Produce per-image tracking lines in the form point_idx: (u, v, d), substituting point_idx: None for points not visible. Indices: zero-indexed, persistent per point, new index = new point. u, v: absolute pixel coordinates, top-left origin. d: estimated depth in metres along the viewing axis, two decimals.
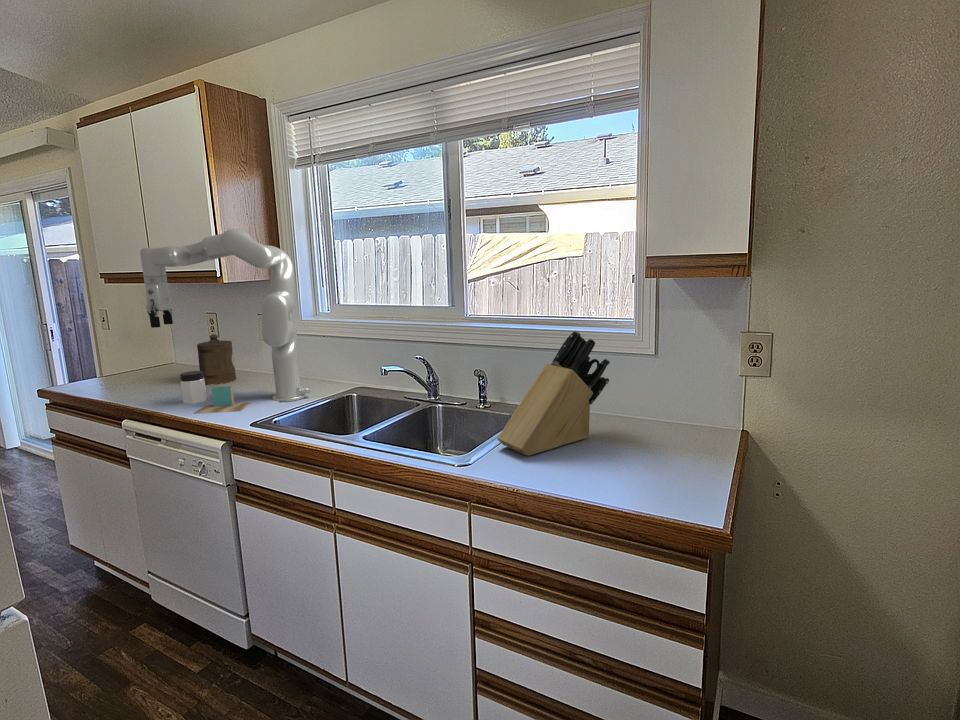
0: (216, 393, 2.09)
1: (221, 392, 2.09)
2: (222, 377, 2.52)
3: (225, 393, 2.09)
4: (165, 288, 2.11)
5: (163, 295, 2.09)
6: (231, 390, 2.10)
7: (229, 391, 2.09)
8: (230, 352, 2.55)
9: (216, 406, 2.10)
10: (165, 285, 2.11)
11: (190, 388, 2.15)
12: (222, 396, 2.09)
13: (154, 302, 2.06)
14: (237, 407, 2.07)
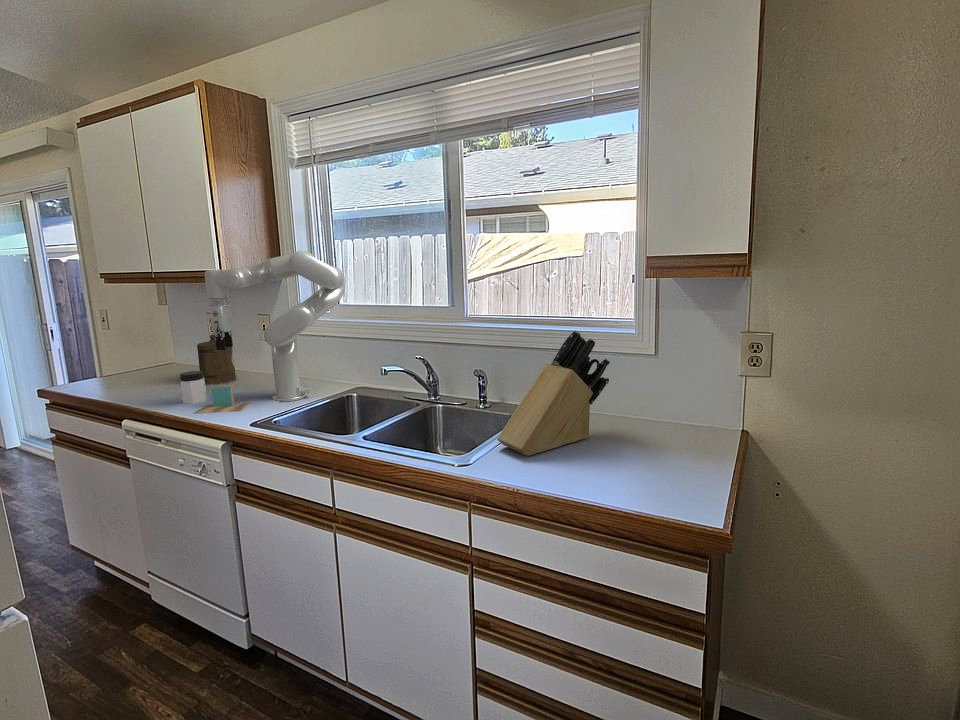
0: (216, 393, 2.09)
1: (221, 392, 2.09)
2: (222, 377, 2.52)
3: (225, 393, 2.09)
4: (228, 309, 2.12)
5: (226, 316, 2.11)
6: (231, 390, 2.10)
7: (229, 391, 2.09)
8: (230, 352, 2.55)
9: (216, 406, 2.10)
10: (228, 306, 2.13)
11: (190, 388, 2.15)
12: (222, 396, 2.09)
13: (219, 326, 2.08)
14: (237, 407, 2.07)
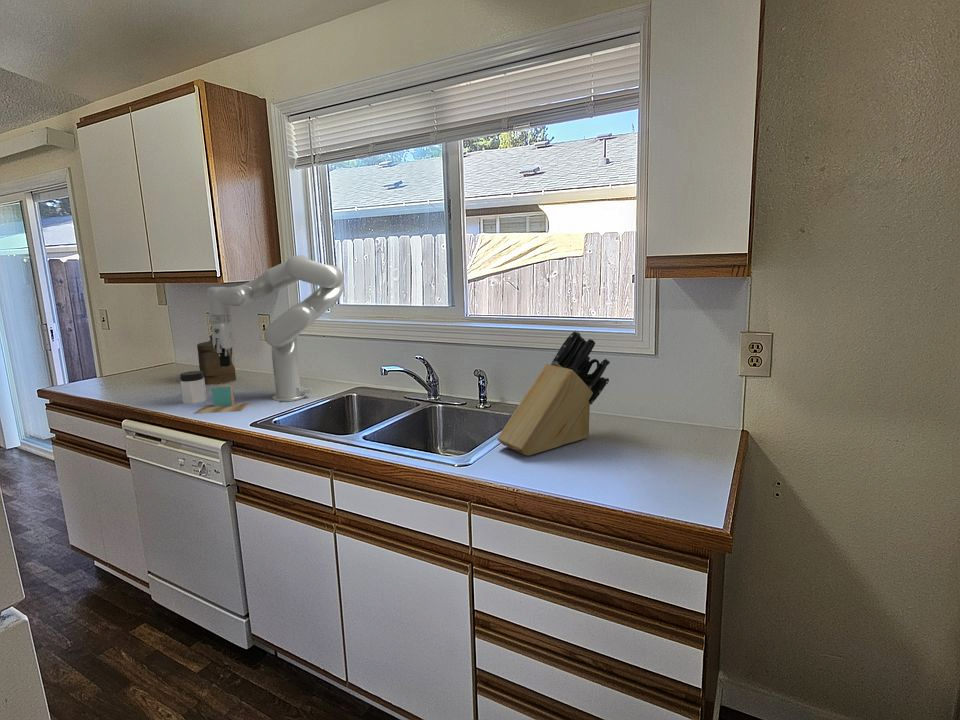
0: (216, 393, 2.09)
1: (221, 392, 2.09)
2: (222, 377, 2.52)
3: (225, 393, 2.09)
4: (229, 326, 2.13)
5: (228, 333, 2.12)
6: (231, 390, 2.10)
7: (229, 391, 2.09)
8: (230, 352, 2.55)
9: (216, 406, 2.10)
10: (229, 323, 2.14)
11: (190, 388, 2.15)
12: (222, 396, 2.09)
13: (221, 347, 2.10)
14: (237, 407, 2.07)
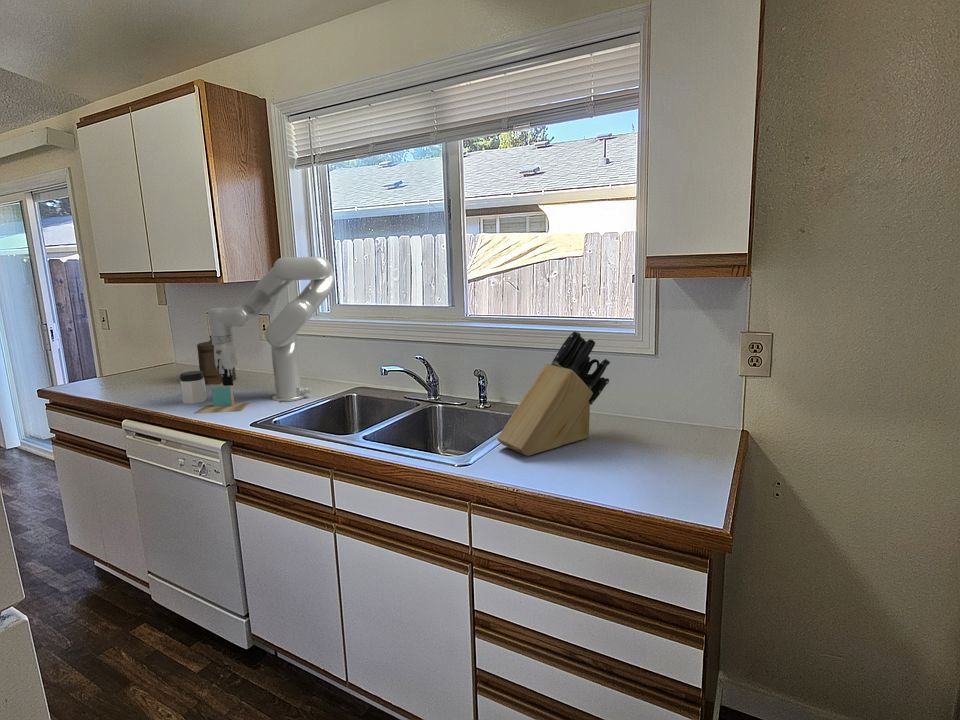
0: (216, 393, 2.09)
1: (221, 392, 2.09)
2: None
3: (225, 393, 2.09)
4: (231, 346, 2.14)
5: (230, 354, 2.12)
6: (231, 390, 2.10)
7: (229, 391, 2.09)
8: None
9: (216, 406, 2.10)
10: (231, 343, 2.14)
11: (190, 388, 2.15)
12: (222, 396, 2.09)
13: (223, 368, 2.10)
14: (237, 407, 2.07)
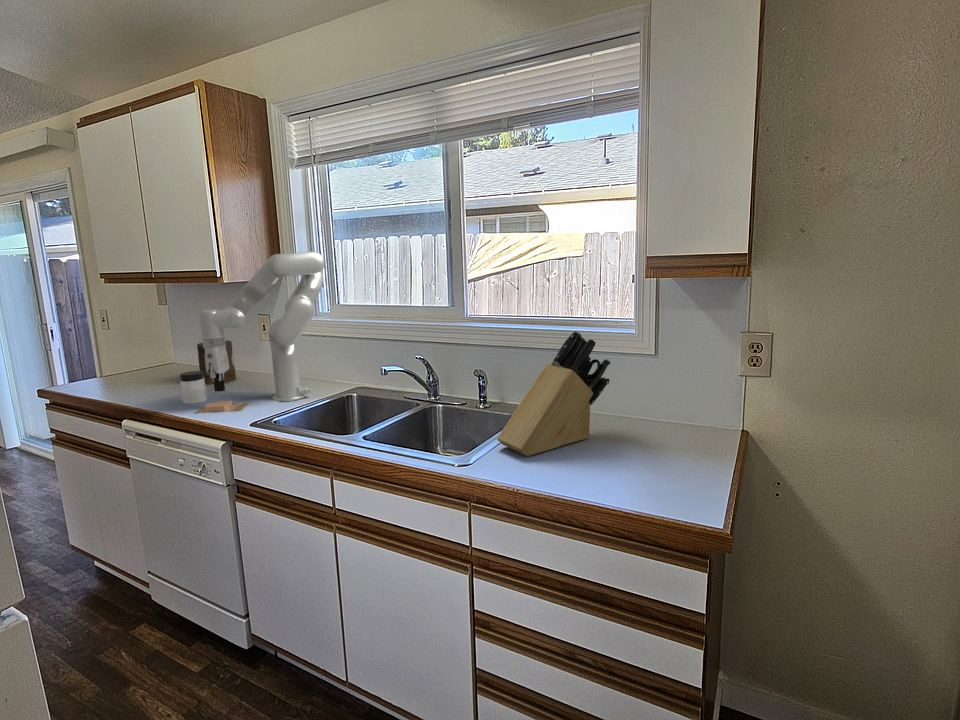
0: None
1: None
2: None
3: None
4: (223, 350, 2.06)
5: (221, 357, 2.04)
6: (226, 407, 2.04)
7: (225, 409, 2.05)
8: (230, 352, 2.55)
9: None
10: (223, 347, 2.07)
11: (190, 388, 2.15)
12: None
13: (215, 372, 2.02)
14: (237, 407, 2.07)
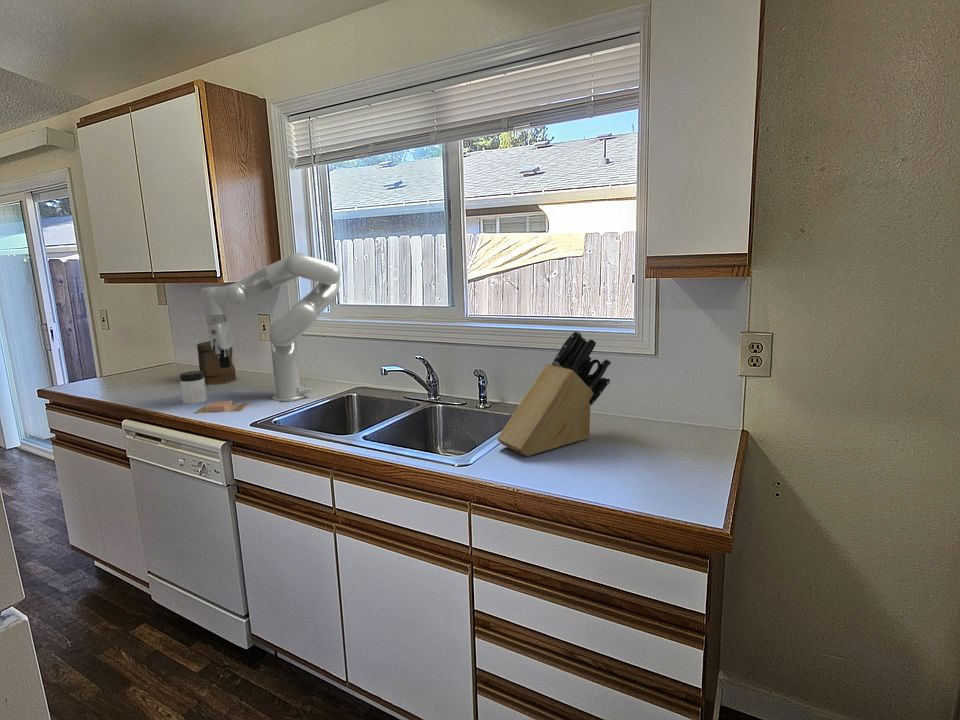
0: None
1: None
2: (222, 377, 2.52)
3: None
4: (226, 326, 2.09)
5: (225, 334, 2.08)
6: (226, 407, 2.04)
7: (225, 409, 2.05)
8: (230, 352, 2.55)
9: None
10: (226, 323, 2.10)
11: (190, 388, 2.15)
12: None
13: (219, 348, 2.06)
14: (237, 407, 2.07)
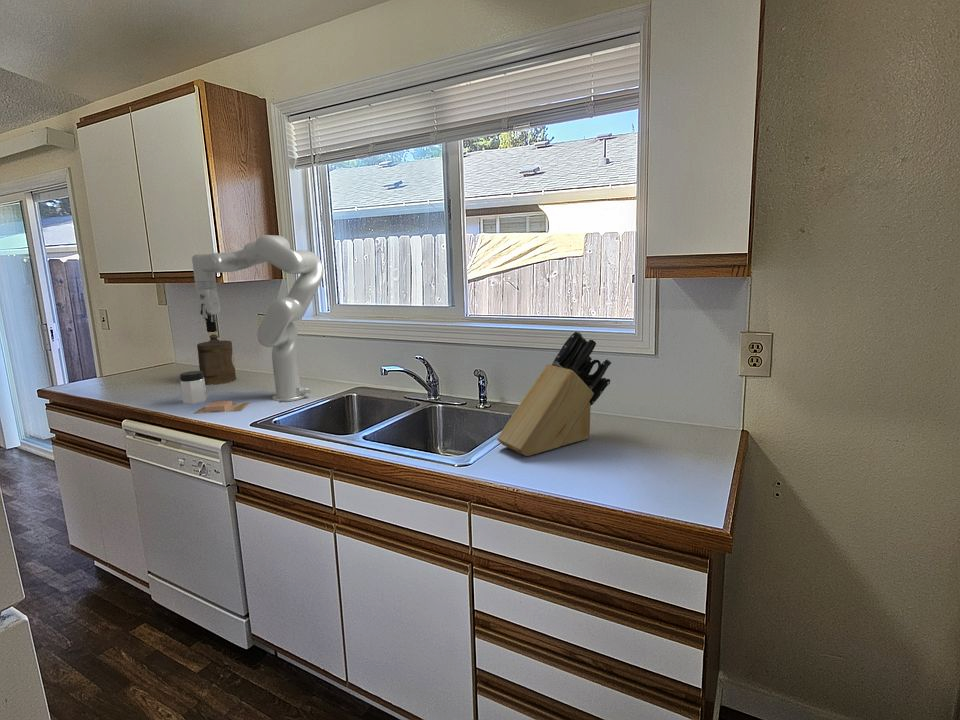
0: None
1: None
2: (222, 377, 2.52)
3: None
4: (214, 292, 2.20)
5: (213, 299, 2.18)
6: (226, 407, 2.04)
7: (225, 409, 2.05)
8: (230, 352, 2.55)
9: None
10: (214, 290, 2.21)
11: (190, 388, 2.15)
12: None
13: (207, 312, 2.16)
14: (237, 407, 2.07)
